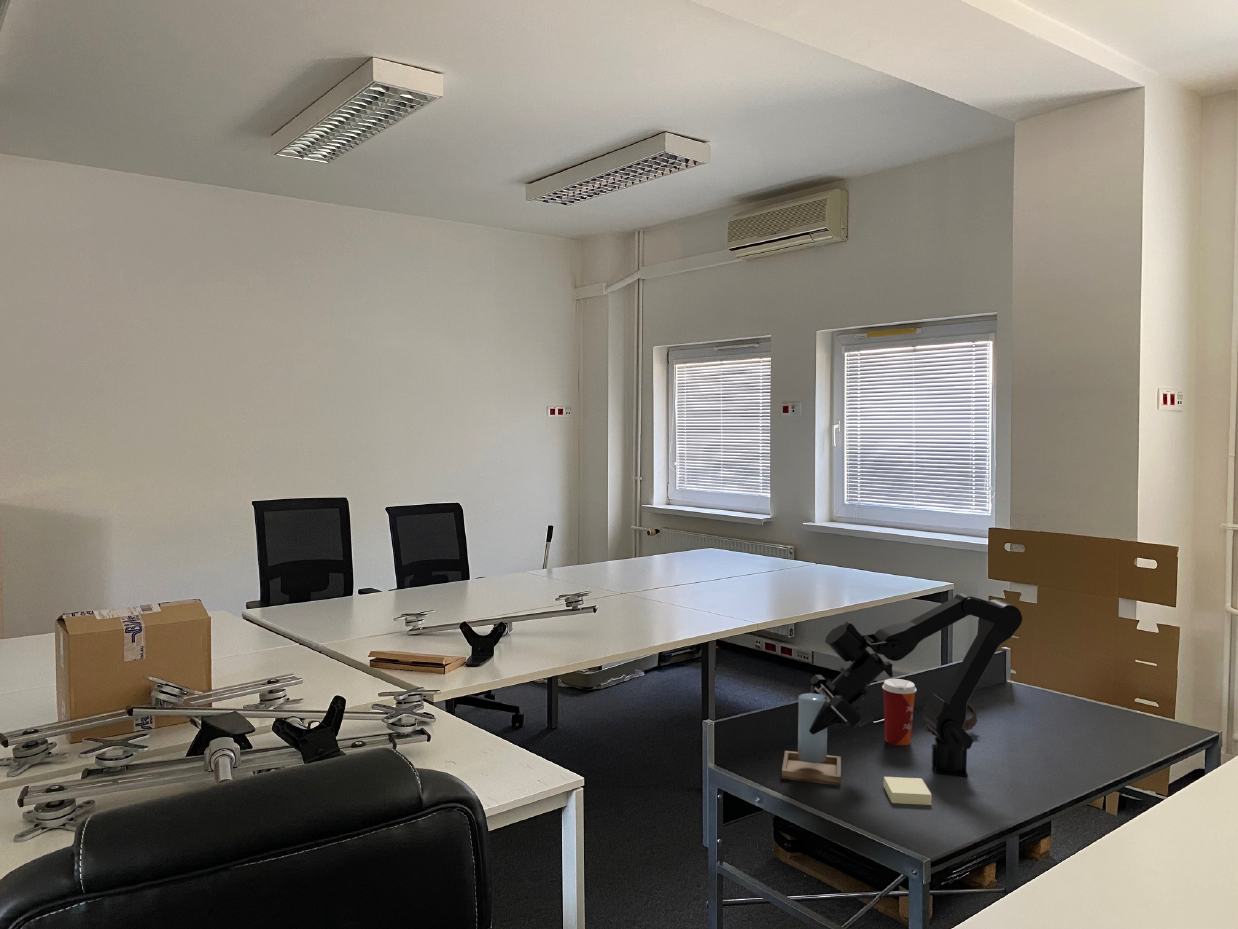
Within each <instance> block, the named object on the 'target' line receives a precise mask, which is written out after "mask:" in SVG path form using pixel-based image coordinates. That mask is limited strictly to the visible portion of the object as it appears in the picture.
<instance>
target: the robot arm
mask: <svg viewBox="0 0 1238 929" xmlns="http://www.w3.org/2000/svg"><path fill="white" fill-rule="evenodd" d="M968 616H973V617H976V618H978V620H977V634H976V636H975V638H974V639H973V641H972V643H971V645H970V646H969V649H968V650H967V653H966V654H965V656H964V658H963V659H962V661H961V664H960V665H959V667H958V669H956V672H955V674H954V676H953V678H952V680H951V681H950V683H949V685H948V687H947V688H946V690H945V691H944V692H942V693H941V694H939V696H938V695H937V694H935V693H932V694H931V695H930V698H929V700H928V702H927V703H928V704H926V705H925V706H924V707H923V708H922V709H923V710H924V713H923V721H924V723H925V725H926V726H927V727H928V728H929V729H930V731H931V734H932V735H933V736H934V744H932V745H931V757H930V759H931V761H930V762H931V763H930V764H931V766H932V768H934V771H935V773H936V774H940V775H941V774H942V775H950V776H952V775H953V776H961V777H968V776H969V774H968V771H967V763H968V762H967V761H968V760H967V759H968V750H970V749H971V747H972V744H973V743H974V738H972V736H970V735H969V734H968V733H967V732H966V731H964V730H963V726H964V723H965V720H967V710H968V709H967V703H969V701H970V699H971V697H972V696H973V694H974V691H975V690H976V688H977V687H978V685H979V684H980V683H979V682H980V681H981V679H982V677H983V675H984V674H985V672H986V670H987V669H988V666H989V665H990V663H991V661H992V659H993V658H994V656H995V654H996V652H997V650H998V648H999V647H1000V646H1001V645H1003V643H1005V642H1007V641H1008V640H1009V639H1012V637H1013V636H1014V635H1015V633H1016V632H1017V631H1018V630H1019V628H1020V627H1021V626H1022V623H1023V618H1024V617H1023V616H1022V612H1021V611H1020V609H1019V608H1018V607H1017V606H1015V605H1013V604H1011V603H1008V602H1005V601H1004V600H1001V599H996V598H995V599H991V600H985V599H982V598H979V597H976V596H972V595H969V594H967V593H965V592H960V593H957V594H956V595H954V597H953V598H951V599H949V600H947V601H944V602H943V603H941V604H939V605H937V606H936V607H934V608H932V609H930V610H928V611H926V612H924V613H923V614H920V615H919V616H916V617H914V618H913V619H911V620H908V621H906V622H900V623H894V624H891V625H888V626H885V627H882V628H879V629H877V631H875V632H873V633H866V634H861V633H860V632H859V631H858V629H856V626H855V625H853V624H852V622H850V621H848V620H847V621H846V622H845V623H844V624H840V625H838V626H836V627H835V628H832V629H831V630H830V631H829V633H828V634H827V636H825V641H824V642H825V644H826V645H827V646H828V647H829V648H830V649H831V650H832V651H833V652H834V653H835V654H836V655H837V656H838V657H839V658H840V659H841V660H842V661H843V662H846V663H847V662H851V663H850V664H849V665H848V666H847V667H846V668H844V667H843V666H842V667H840V668H839V670H838V671H839V672H840V674H838V675H837V677H835V679H834V680H832V681H830V680H826V679H825V677H823V676H822V674H815V675H813V677H811V678H810V680H809V682H810V683H811V684H812V685H811V686H810V692H809V693H813V694H820V695H823V696H825V697H827V702H826V701H825V702H824V704H823V706H822V708H821V709H820V711H819V713H818V715H817V717H816V718H815V720H814V722H813V724H812V726H811V728H810V730H809V732H810V733H811V734H813V735H814V734H816V733H817V732H819V731H821V730H823V729H825V728H827V729H828V728H829V727H832V726H833V725H836V724H840V725H845V726H848V725H849V724H850V726H852V727H853V728H854V729H856V727H857V726H858V725H859V727H863V726H864V725H867V724H869V723H871V722H873V721H874V717H873V716H872V713H871V710H870V708H869V706H868V704H867V702H866V699H865V697H867V696H868V690H866V689H867V688H868V687H869V686H870V685H871V684H872V683H873V682H874V681H875V680H876V679H877V678H878V677H879V676H881V674H882V673H885V675H887V676H888V677H889V678H892V677H894V675H893V666H894V665H893V664H892V662H899V661H901V660H903V659H904V658H906V657H907V656H908V655H910V653H912V652H914V650H915V649H916V648H917V646H918V645H919V644H920V643H921V642H922V641H923V640H925V639H927V638H928V637H929V638H930V637H931V636H932V635H935V634H936V633H938V632H940V631H942V630H943V629H946V628H948V627H949V626H951V625H953V624H954V623H956V622H958V621H961V620H963V619H965V618H966V617H968ZM867 648H868V649H870V650H871V651H872V653H870V652H869V651H868V650H867ZM880 655H882V656H884V657H885V658H886V659H887V660H889V661H885V660H884V659H883V658H882V657H881V656H880ZM890 661H892V662H890Z"/></svg>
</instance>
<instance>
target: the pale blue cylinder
mask: <svg viewBox="0 0 1238 929" xmlns="http://www.w3.org/2000/svg"><path fill="white" fill-rule="evenodd" d="M825 701H826V702H827V697H825V696H823V695H820V694H813V693H810V692H809V693H802V694H799V695H798V718H797V719H798V724H797V725H798V727H797V729H798V730H797V733H798V734H797V742H798V743H797V752H798V758H799V759H800V760H802V761H805V762H809V763H821V762H824V761H826V759H827V755H828V751H827V750H828V749H827V748H828V727H827V728H825V729H823V730H821V731H819V732H817V733H816V734H814V735H813V734H811V733H810V732H809V730H810V728H811V726H812V724H813V722H814V720H815V718H816V717H817V715H818V713H819V711H820V709H821V708H822V706H823V704H824V702H825Z"/></svg>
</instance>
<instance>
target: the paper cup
mask: <svg viewBox="0 0 1238 929" xmlns="http://www.w3.org/2000/svg"><path fill="white" fill-rule="evenodd" d="M881 688H882V689H883V712H884V713H883V717H884V718H883V720H884V738H885V742H886V743H887V742H888V744H890V745H892V746H897V745H901V746H900V747H903V746H902V745H906V746H909V745H910V744H911V737H912V736H911V735H912V727H913V717H914V706H915V705H914V704H915V697H916V696H915V695H916V693H917V687H916V685H915V683H914V682H912V681H910V680H907V679H906V680H905V679H900V678H889V679H884V682H883V684H882V686H881Z"/></svg>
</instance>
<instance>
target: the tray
mask: <svg viewBox="0 0 1238 929" xmlns="http://www.w3.org/2000/svg"><path fill="white" fill-rule="evenodd" d="M841 759H842V758H841V756H838V755H829V754H827V759H826V761H824V762H821V763H809V762H805V761H802V760H800V759H799V758H798V751H792V750H791V751H789V750H784V755H783V761H782V766H781V779H782V780H788V779H789V780H791V781H798V782H805V783H807V782H808V783H814V784H815V783H816V784H817V783H818V784H824V785H834V786H841V780H842V779H841V778H842V777H841V776H842V774H841V773H842V770H841V769H842V767H841V766H842V765H841V764H842V760H841Z"/></svg>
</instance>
